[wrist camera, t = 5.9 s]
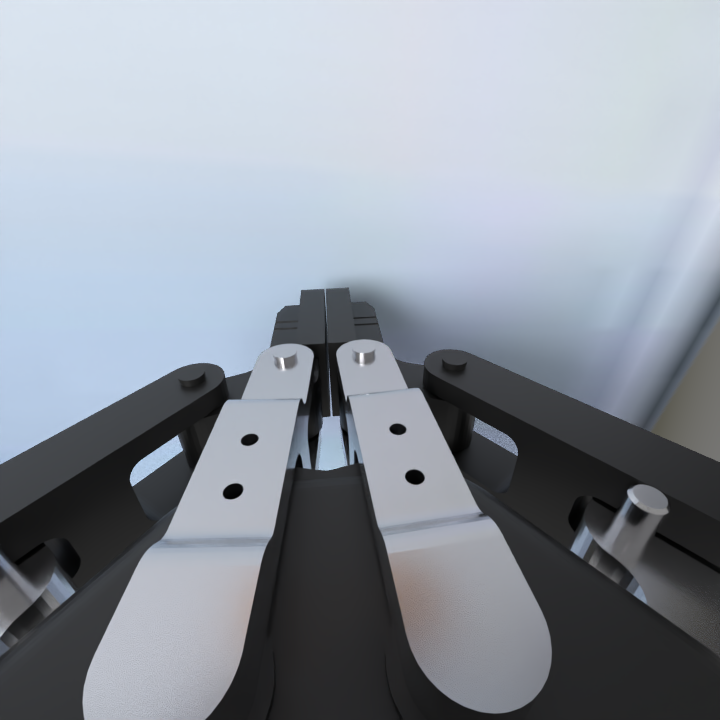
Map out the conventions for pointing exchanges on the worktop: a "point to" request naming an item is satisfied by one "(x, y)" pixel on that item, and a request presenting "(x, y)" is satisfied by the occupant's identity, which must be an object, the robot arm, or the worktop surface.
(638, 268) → the worktop surface
